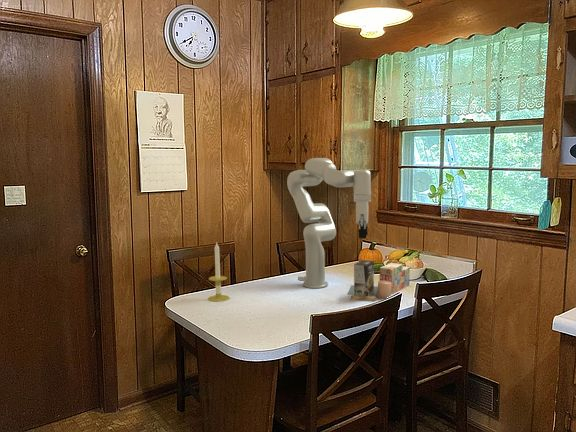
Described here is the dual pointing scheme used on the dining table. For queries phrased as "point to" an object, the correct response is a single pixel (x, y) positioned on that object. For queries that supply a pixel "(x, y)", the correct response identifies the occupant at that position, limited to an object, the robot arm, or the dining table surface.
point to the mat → (351, 290)
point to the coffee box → (364, 278)
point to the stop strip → (363, 298)
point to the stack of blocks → (395, 276)
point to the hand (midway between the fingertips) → (363, 236)
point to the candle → (218, 279)
